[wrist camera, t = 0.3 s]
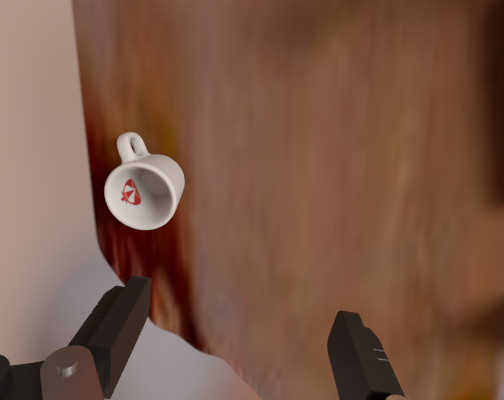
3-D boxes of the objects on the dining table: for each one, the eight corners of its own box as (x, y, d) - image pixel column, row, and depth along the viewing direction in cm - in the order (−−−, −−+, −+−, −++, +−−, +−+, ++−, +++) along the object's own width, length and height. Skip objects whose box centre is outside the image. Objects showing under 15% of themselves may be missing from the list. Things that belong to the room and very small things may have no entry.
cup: (112, 136, 39) (77, 149, 32) (169, 117, 38) (147, 126, 30) (147, 210, 43) (122, 238, 35) (200, 195, 42) (186, 220, 34)
